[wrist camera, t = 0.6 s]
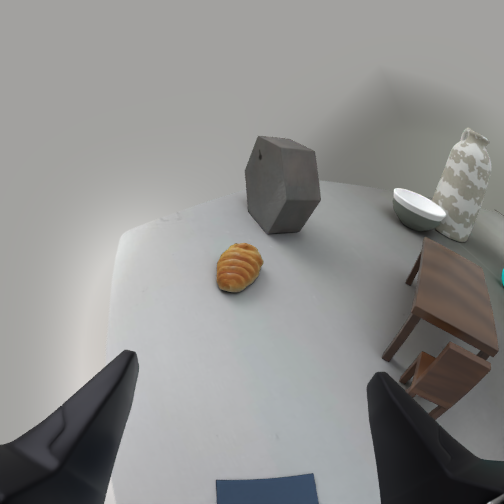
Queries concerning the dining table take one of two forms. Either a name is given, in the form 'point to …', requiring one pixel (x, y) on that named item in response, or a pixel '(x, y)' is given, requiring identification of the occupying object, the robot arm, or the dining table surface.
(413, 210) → the bowl
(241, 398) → the dining table surface
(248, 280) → the pastry
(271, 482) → the mat
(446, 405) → the chair
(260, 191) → the grey hexagonal prism
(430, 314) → the side table
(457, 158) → the vase
